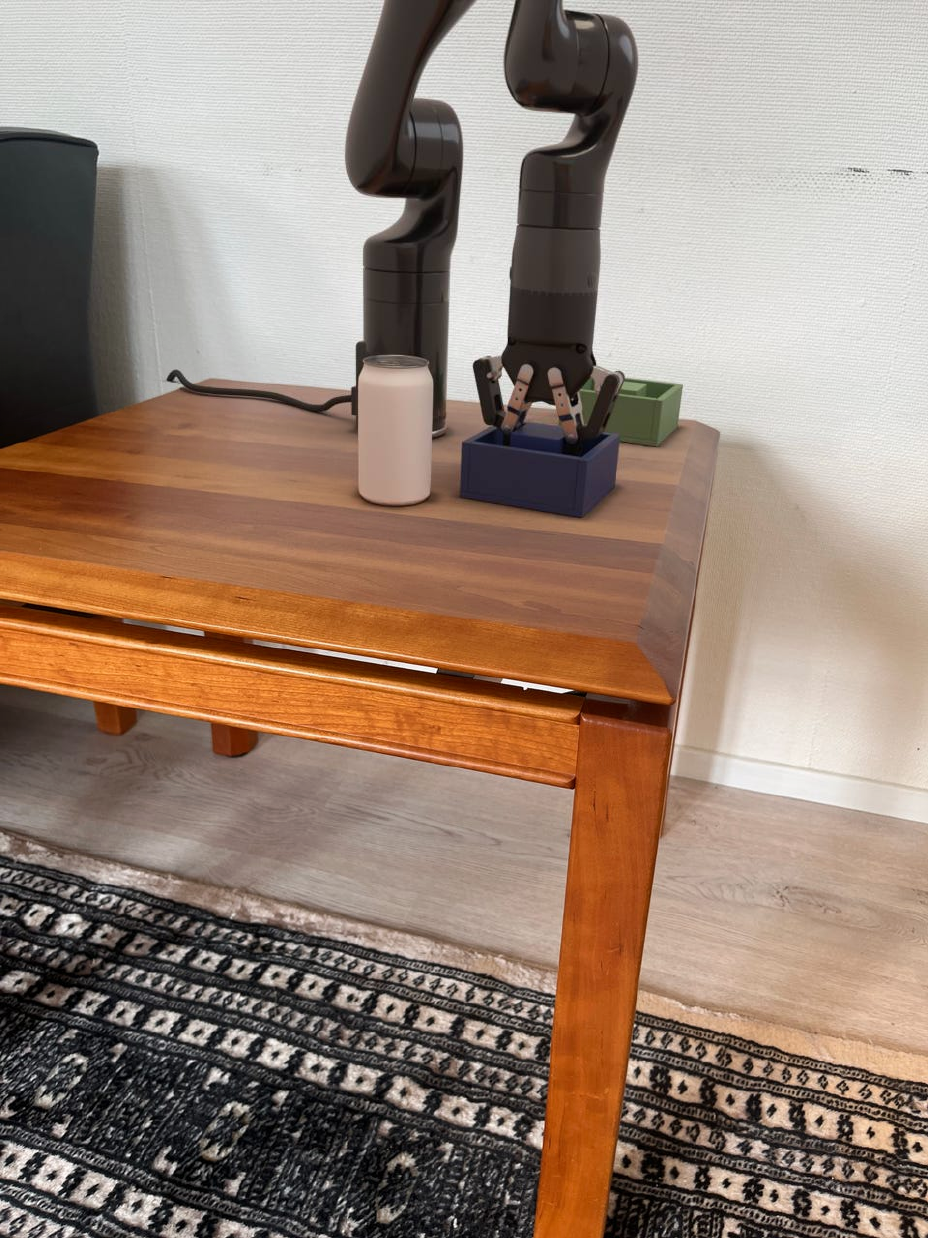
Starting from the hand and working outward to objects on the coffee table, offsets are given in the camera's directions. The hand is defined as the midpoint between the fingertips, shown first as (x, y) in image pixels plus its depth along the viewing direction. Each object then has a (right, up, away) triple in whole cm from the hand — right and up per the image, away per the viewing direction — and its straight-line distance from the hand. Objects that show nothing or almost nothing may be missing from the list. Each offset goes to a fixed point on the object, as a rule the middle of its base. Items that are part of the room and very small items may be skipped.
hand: (539, 476), depth 91 cm
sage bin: (+11, +9, +24) cm, 28 cm away
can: (-13, -2, -2) cm, 14 cm away
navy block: (0, 0, 0) cm, 0 cm away
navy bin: (0, -1, +1) cm, 2 cm away
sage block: (+11, +9, +24) cm, 28 cm away
